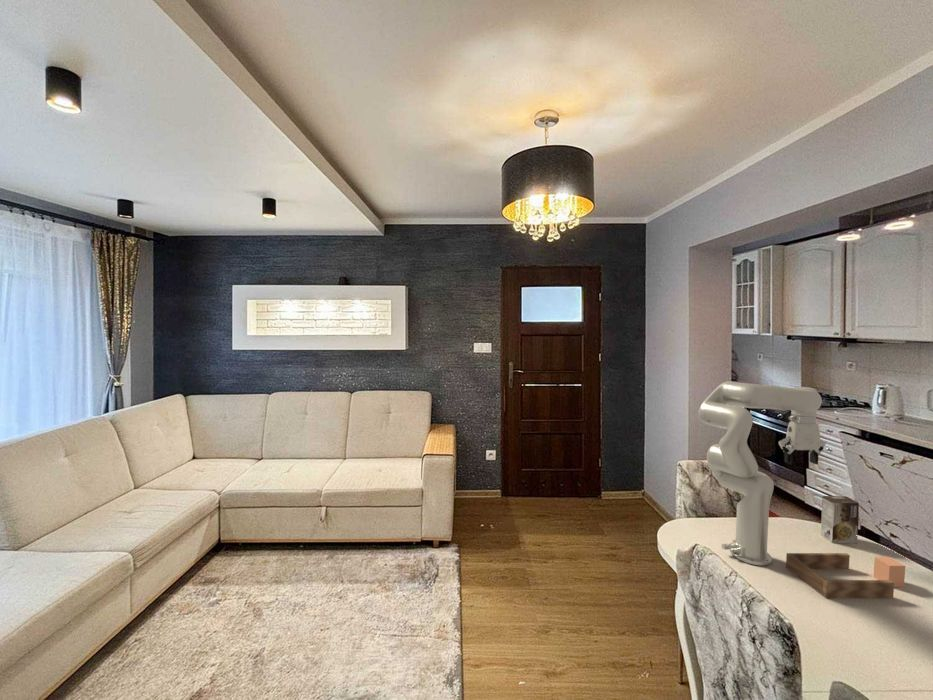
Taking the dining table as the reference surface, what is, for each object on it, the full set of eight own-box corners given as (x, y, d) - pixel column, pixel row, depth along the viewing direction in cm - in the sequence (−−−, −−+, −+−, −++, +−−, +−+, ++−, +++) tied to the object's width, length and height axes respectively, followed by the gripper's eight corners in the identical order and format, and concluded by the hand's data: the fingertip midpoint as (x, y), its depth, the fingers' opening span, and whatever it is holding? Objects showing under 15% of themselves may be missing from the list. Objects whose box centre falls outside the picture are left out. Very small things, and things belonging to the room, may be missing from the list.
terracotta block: (888, 586, 135) (889, 565, 135) (873, 577, 140) (874, 557, 140) (903, 586, 135) (905, 565, 135) (888, 577, 140) (889, 557, 140)
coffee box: (844, 535, 168) (846, 496, 166) (857, 544, 161) (860, 503, 160) (819, 534, 168) (821, 495, 167) (831, 543, 162) (834, 502, 161)
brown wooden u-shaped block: (825, 598, 130) (826, 582, 130) (785, 567, 146) (786, 553, 146) (893, 598, 130) (894, 582, 129) (845, 567, 146) (846, 553, 146)
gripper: (787, 421, 158) (785, 466, 159) (834, 421, 158) (831, 466, 159) (773, 417, 165) (771, 460, 167) (817, 417, 165) (815, 460, 167)
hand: (801, 463), depth 163 cm, fingers open, 9 cm apart
